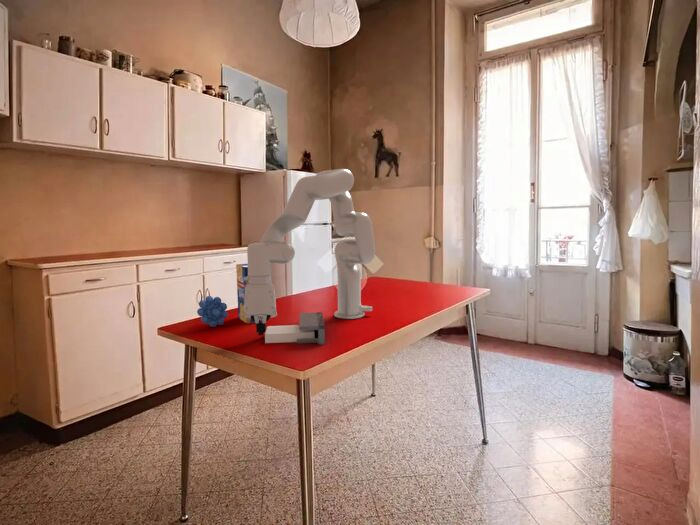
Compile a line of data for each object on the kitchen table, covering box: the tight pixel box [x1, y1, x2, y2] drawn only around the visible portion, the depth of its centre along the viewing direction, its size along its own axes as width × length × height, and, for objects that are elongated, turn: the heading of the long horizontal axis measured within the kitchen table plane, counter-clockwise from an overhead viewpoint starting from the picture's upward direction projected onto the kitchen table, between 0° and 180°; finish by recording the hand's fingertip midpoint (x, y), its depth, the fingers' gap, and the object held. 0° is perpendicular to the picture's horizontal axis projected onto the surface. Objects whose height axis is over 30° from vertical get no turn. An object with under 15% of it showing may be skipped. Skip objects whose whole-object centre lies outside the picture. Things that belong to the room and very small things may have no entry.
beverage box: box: [235, 263, 263, 324], centre depth 158 cm, size 7×11×22 cm, turn 33°
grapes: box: [196, 295, 229, 328], centre depth 147 cm, size 12×7×12 cm, turn 131°
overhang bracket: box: [296, 311, 326, 346], centre depth 135 cm, size 9×18×6 cm, turn 6°
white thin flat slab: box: [264, 324, 315, 344], centre depth 134 cm, size 16×10×3 cm, turn 97°
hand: (261, 334), depth 133 cm, fingers closed
